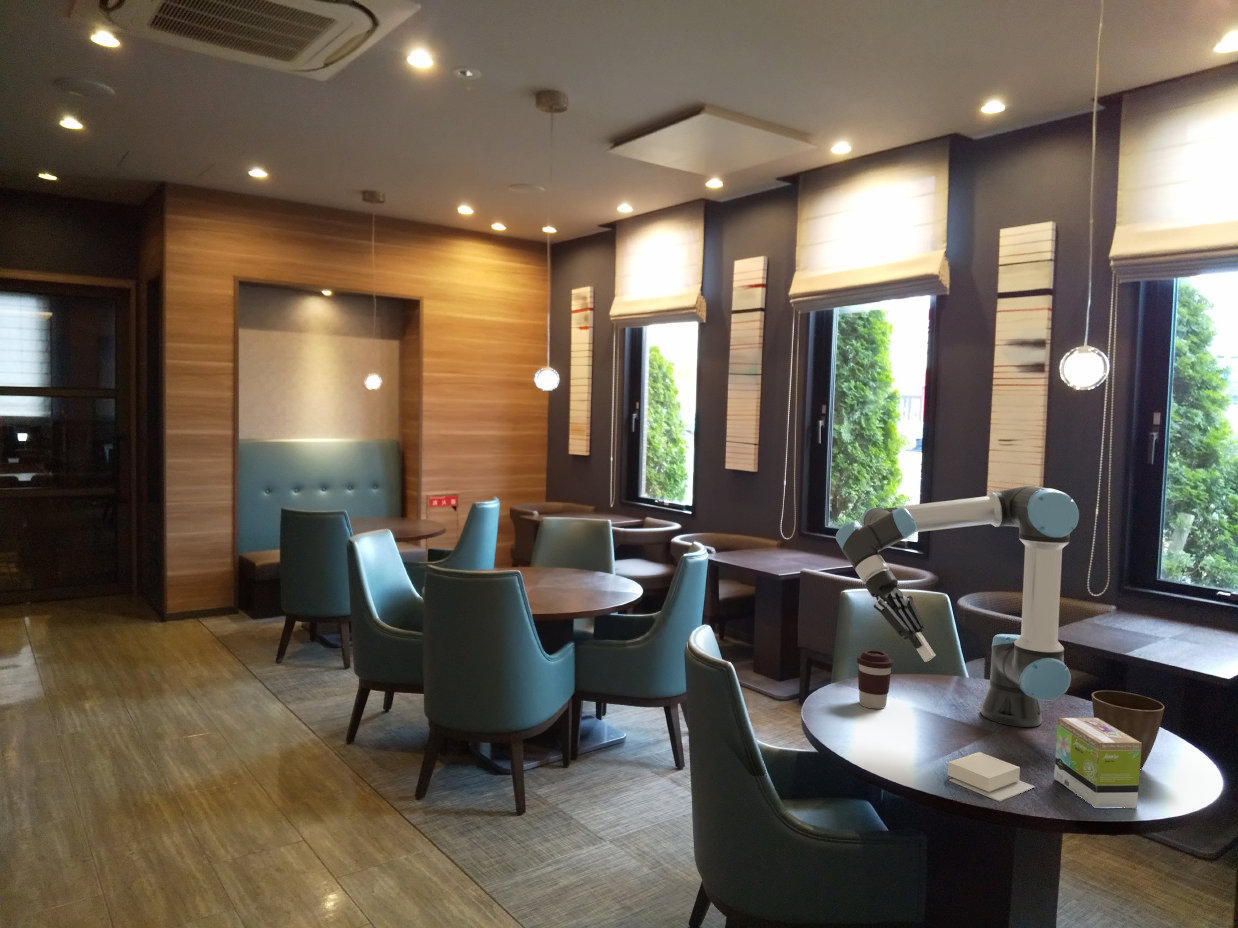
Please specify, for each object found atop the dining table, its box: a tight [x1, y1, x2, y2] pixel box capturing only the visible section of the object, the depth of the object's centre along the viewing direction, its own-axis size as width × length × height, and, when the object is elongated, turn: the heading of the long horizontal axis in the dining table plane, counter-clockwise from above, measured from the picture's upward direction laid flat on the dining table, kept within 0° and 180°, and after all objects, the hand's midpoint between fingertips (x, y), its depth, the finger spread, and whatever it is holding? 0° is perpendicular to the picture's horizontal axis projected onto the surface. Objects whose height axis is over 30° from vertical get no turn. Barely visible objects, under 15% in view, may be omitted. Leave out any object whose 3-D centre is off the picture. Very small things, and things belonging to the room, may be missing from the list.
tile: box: [947, 751, 1021, 792], centre depth 190 cm, size 12×3×10 cm
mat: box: [949, 777, 1036, 803], centre depth 189 cm, size 14×12×1 cm
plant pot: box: [1091, 690, 1165, 770], centre depth 202 cm, size 15×15×16 cm
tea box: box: [1053, 717, 1142, 809], centre depth 185 cm, size 15×10×15 cm
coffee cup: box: [856, 649, 894, 710], centre depth 240 cm, size 10×10×15 cm
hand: (930, 658), depth 202 cm, fingers closed
